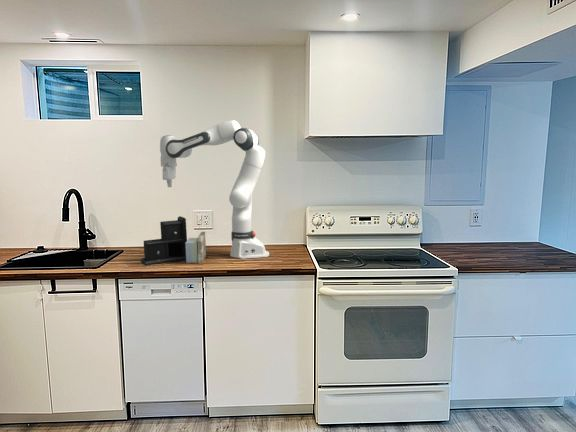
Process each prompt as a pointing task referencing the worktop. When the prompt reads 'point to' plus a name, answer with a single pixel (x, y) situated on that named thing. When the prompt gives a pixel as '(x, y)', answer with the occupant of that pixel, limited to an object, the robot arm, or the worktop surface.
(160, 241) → the black stepped block
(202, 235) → the end board
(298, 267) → the worktop surface
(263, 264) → the worktop surface
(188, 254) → the book
